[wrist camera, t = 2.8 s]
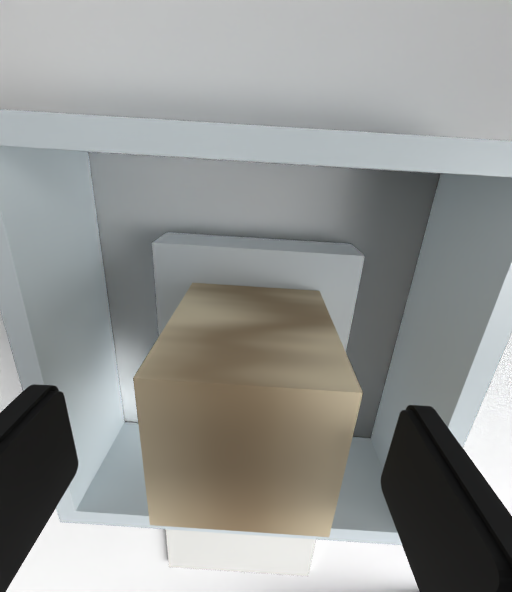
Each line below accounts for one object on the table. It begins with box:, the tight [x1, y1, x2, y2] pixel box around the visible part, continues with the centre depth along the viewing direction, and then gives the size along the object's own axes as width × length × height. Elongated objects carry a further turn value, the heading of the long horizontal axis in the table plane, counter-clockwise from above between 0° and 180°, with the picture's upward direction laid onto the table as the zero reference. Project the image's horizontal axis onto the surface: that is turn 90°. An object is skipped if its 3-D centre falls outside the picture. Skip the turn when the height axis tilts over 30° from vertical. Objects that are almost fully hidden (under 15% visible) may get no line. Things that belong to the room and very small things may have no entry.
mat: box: [166, 529, 316, 577], centre depth 21 cm, size 10×10×1 cm
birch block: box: [133, 283, 363, 537], centre depth 11 cm, size 5×5×6 cm
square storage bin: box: [0, 109, 512, 545], centre depth 13 cm, size 16×16×5 cm
